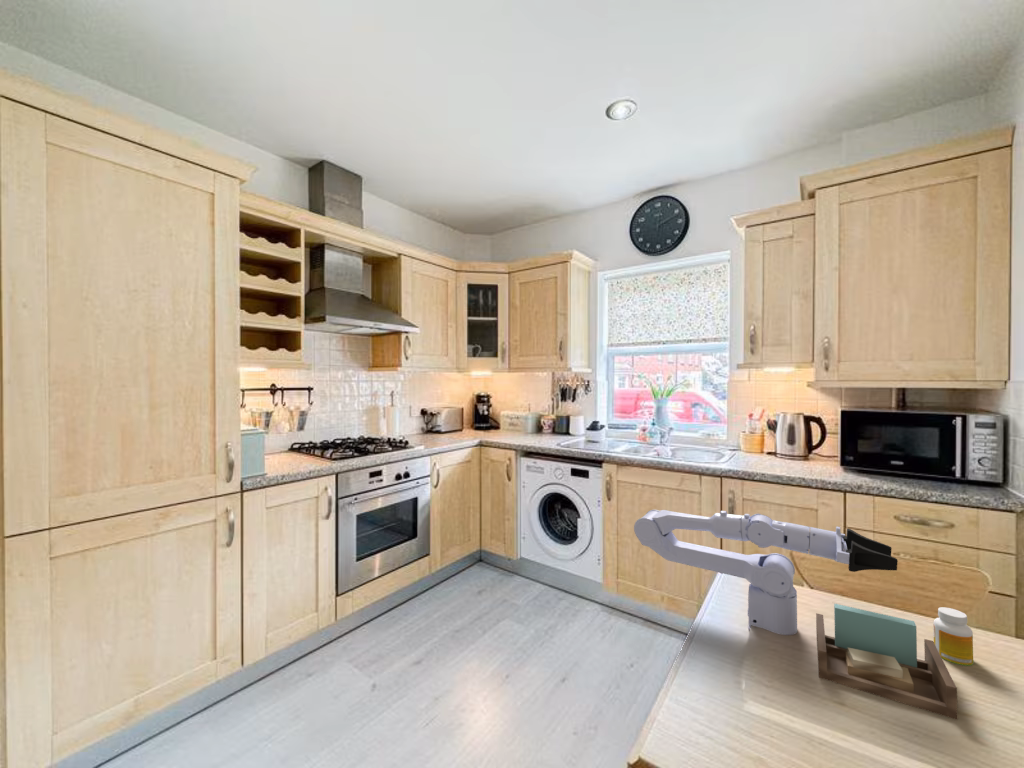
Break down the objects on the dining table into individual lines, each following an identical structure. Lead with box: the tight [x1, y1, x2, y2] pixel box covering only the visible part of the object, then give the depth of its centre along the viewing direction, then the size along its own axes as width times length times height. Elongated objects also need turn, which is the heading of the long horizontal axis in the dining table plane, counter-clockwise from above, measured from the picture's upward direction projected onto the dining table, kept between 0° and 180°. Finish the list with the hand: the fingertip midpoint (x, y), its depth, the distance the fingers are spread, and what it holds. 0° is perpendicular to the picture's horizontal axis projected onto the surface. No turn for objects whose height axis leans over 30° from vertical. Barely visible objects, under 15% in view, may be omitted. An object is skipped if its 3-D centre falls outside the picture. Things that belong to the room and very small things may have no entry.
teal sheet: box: [833, 603, 918, 668], centre depth 83 cm, size 12×2×9 cm, turn 56°
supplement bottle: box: [933, 606, 974, 667], centre depth 83 cm, size 5×5×10 cm
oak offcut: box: [846, 652, 914, 693], centre depth 78 cm, size 9×5×2 cm, turn 56°
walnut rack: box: [815, 613, 958, 721], centre depth 79 cm, size 18×15×6 cm
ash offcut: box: [848, 648, 903, 679], centre depth 79 cm, size 7×4×2 cm, turn 64°
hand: (894, 558), depth 83 cm, fingers open, 7 cm apart
